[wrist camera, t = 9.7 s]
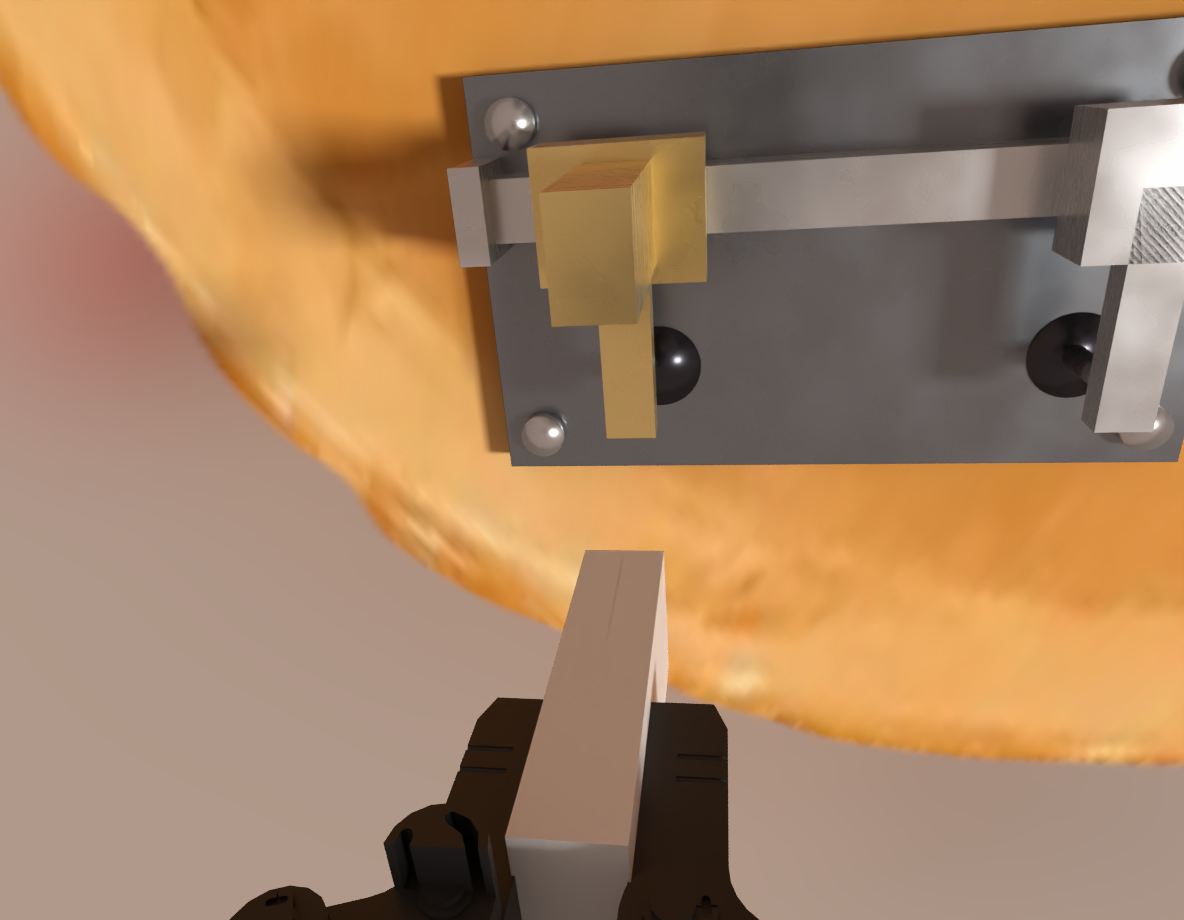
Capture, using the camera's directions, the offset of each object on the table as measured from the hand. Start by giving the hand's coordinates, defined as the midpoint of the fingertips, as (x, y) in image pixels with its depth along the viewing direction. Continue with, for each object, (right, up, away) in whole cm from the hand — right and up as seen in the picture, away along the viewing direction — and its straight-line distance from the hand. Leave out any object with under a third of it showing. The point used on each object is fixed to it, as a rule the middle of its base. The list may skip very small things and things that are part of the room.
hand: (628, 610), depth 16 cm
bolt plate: (+8, +10, +13) cm, 18 cm away
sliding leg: (+1, +9, +12) cm, 15 cm away
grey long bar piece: (+7, +10, +11) cm, 17 cm away
